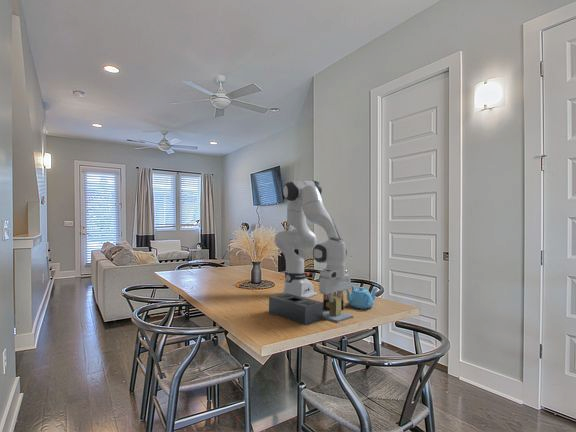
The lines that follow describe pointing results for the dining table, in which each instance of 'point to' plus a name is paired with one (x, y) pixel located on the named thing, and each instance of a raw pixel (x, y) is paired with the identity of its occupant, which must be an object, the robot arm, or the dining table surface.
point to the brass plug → (335, 306)
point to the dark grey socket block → (296, 308)
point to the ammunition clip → (326, 301)
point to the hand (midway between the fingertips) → (335, 301)
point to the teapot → (361, 298)
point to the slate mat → (336, 317)
